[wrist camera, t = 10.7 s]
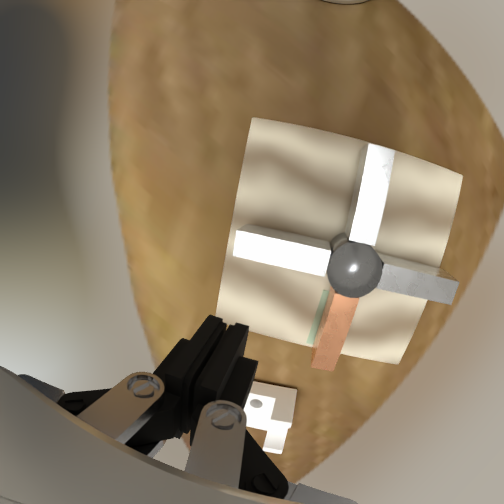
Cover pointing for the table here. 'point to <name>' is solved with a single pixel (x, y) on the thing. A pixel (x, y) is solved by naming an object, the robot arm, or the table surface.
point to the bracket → (271, 413)
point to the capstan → (348, 258)
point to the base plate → (330, 235)
